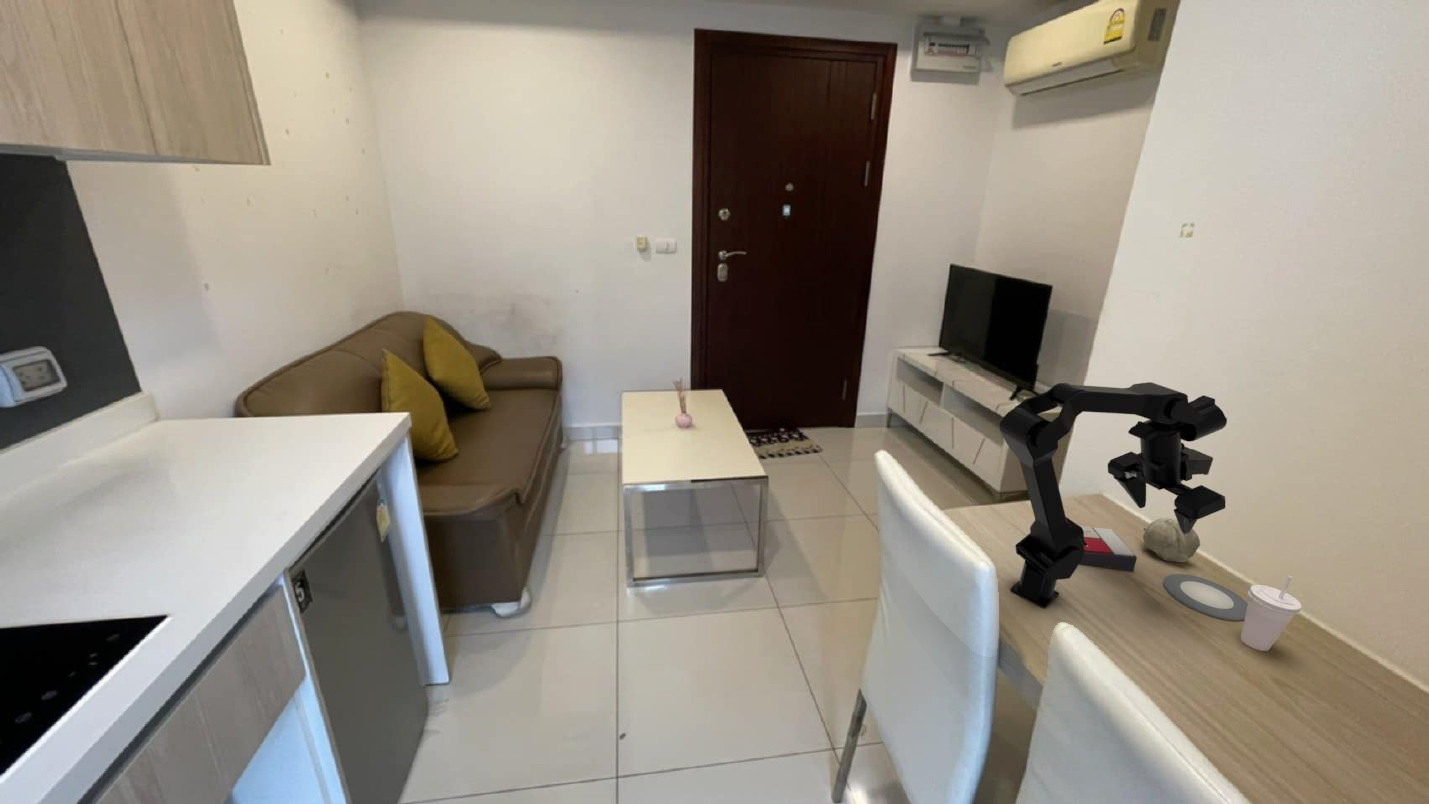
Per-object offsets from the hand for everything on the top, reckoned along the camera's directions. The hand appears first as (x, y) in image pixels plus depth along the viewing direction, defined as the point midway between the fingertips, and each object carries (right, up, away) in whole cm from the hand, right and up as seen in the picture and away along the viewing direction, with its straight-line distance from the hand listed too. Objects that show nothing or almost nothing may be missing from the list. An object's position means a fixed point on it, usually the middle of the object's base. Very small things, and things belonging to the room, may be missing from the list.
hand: (1163, 519), depth 107 cm
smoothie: (+8, -19, -10) cm, 23 cm away
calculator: (-6, -11, +15) cm, 19 cm away
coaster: (+9, -15, +2) cm, 18 cm away
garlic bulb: (+12, -11, +15) cm, 22 cm away
